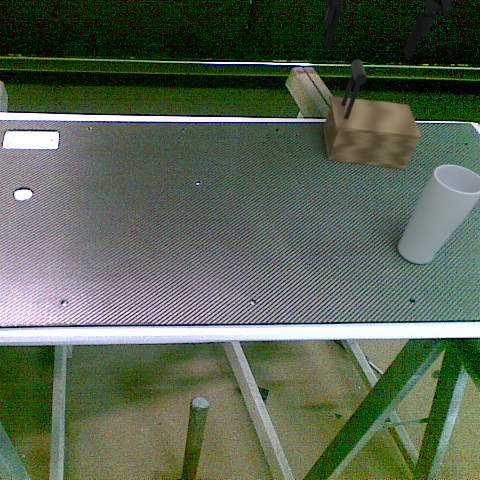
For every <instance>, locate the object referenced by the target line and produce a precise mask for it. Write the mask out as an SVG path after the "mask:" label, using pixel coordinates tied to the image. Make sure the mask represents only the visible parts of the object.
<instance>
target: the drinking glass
mask: <svg viewBox="0 0 480 480" xmlns="http://www.w3.org/2000/svg"><path fill="white" fill-rule="evenodd" d="M479 200H480V175H479V174H477V173H476V172H474V171H473V170H471V169H469V168H467V167H465V166H464V167H463V166H461V165H456V164H441V165H438V166H437V167H435V168H434V169H433V171H432V173H431V174H430V176H429V177H428V179H427V181H426V183H425V185H424V186H423V189H422V190H421V192H420V194H419V197H418V199H417V201H416V203H415V206H414V208H413V211H412V213H411V216H410V218H409V220H408V222H407V225H406V227H405V229H404V231H403V233H402V236H401V238H400V239H399V242H398V243H397V251H398V253H399V255H400V256H401V257H402V258H403V259H405V260H406V261H408V262H410V263H412V264H416V265H425V264H428V263H430V262H431V261H432V260H433V259H434V258H435V256H436V255H437V253H438V252H439V251H440V249H441V248H442V247H443V246H444V245H445V243H447V241H448V240H449V239H450V237H452V235H453V234H454V232H456V230H457V229H459V227H460V226H461V224H463V222H464V221H465V219H466V218H467V217H468V216H469V214H470V213H471V212H472V211H473V209H474V208H475V206H476V205H477V203H478V202H479Z"/></svg>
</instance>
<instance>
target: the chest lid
mask: <svg viewBox="0 0 480 480" xmlns="http://www.w3.org/2000/svg"><path fill="white" fill-rule="evenodd" d="M350 69H351V74H350V77H349V80H348V83H347V86H346V88H345V91H344V95H343V96H335V95H329V98H328V100H329V104H330V105H329V106H331V110H332V116H333V121H334V126H335V129H337V130H346V131H354V132H363V133H371V134H380V135H388V136H397V137H405V138H414V139H420V140H421V139H422V134H421V131H420V129H419V126H418V124H417V122H416V120H415V117H414V115H413V113H412V111H411V107H410V105H409V104H406V103H397V102H390V101H389V102H387V101H380V100H369V99H361V98H357V96H358V94H359V90H360V88H361V85H364V84H366V82H367V81H368V76H367V73H366V70H365V67H364V64H363V61H362V60H361V59H358V58H357V59H354V60H353V61H351V63H350ZM354 82H355V84H354ZM353 85H354V88H353ZM352 88H353V91H352ZM351 91H352V94H350V93H351ZM350 95H351V97H349V96H350Z"/></svg>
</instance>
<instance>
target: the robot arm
mask: <svg viewBox="0 0 480 480" xmlns="http://www.w3.org/2000/svg"><path fill="white" fill-rule="evenodd" d="M345 1H346V0H320V2H321V3H325V4H327V8H326V13H325V16H324V19H323V23H324V24H323V25H324V27H325V28H327V31H326V34H325V38H324V40H323V44H324V49H325V50H331V48H332V44H333V40H334V36H335V35H336V30H337V28H338V24H339V21H340V17H341V14H342V10H343V9H342V6H341V5H342V4H343V2H345ZM437 1H438V3H436V4H435V0H421V2H422V5H423V7H424V9H425V11H419V12H418V14H417V17H416V19H415V22H414V24H413V27H412V29H411V31H410V33H409V36H408V38H407V41H406V43H405V45H404V48H403V52H404V56H405V58H408V59H409V58H410V59H411V58H413V55H414V52H415V50H416V48H417V45H418V43H419V41H420V39H421V37H422V38H425V37H426V36H427V35H428V34H429V31H430V30H431V27H432V25H433V22H434V21H435V20H436V19H438V18H439V16H440V15H449V14H450V13H451V12H452V0H437Z"/></svg>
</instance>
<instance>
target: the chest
mask: <svg viewBox="0 0 480 480" xmlns="http://www.w3.org/2000/svg"><path fill="white" fill-rule="evenodd" d="M322 130H323V136H324V137H323V138H324V142H325V149H326V156H327V161H330V162H331V161H332V162H340V163H347V164H358V165H365V166H373V167H380V168H388V169H389V168H390V169H396V170H406V169H407V166H408V164H409V162H410V160H411V158H412V156H413V154H414V153H415V151H416V148H417V146H418V144H419V143H420V141H421V138H420V139H414V138H405V137H397V136H388V135H380V134H371V133H363V132H354V131H346V130H337V129H335V126H334V121H333V116H332V110H331V105H329V110H328V111H327V115H326V119H325V121H324V124H323V128H322Z"/></svg>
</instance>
